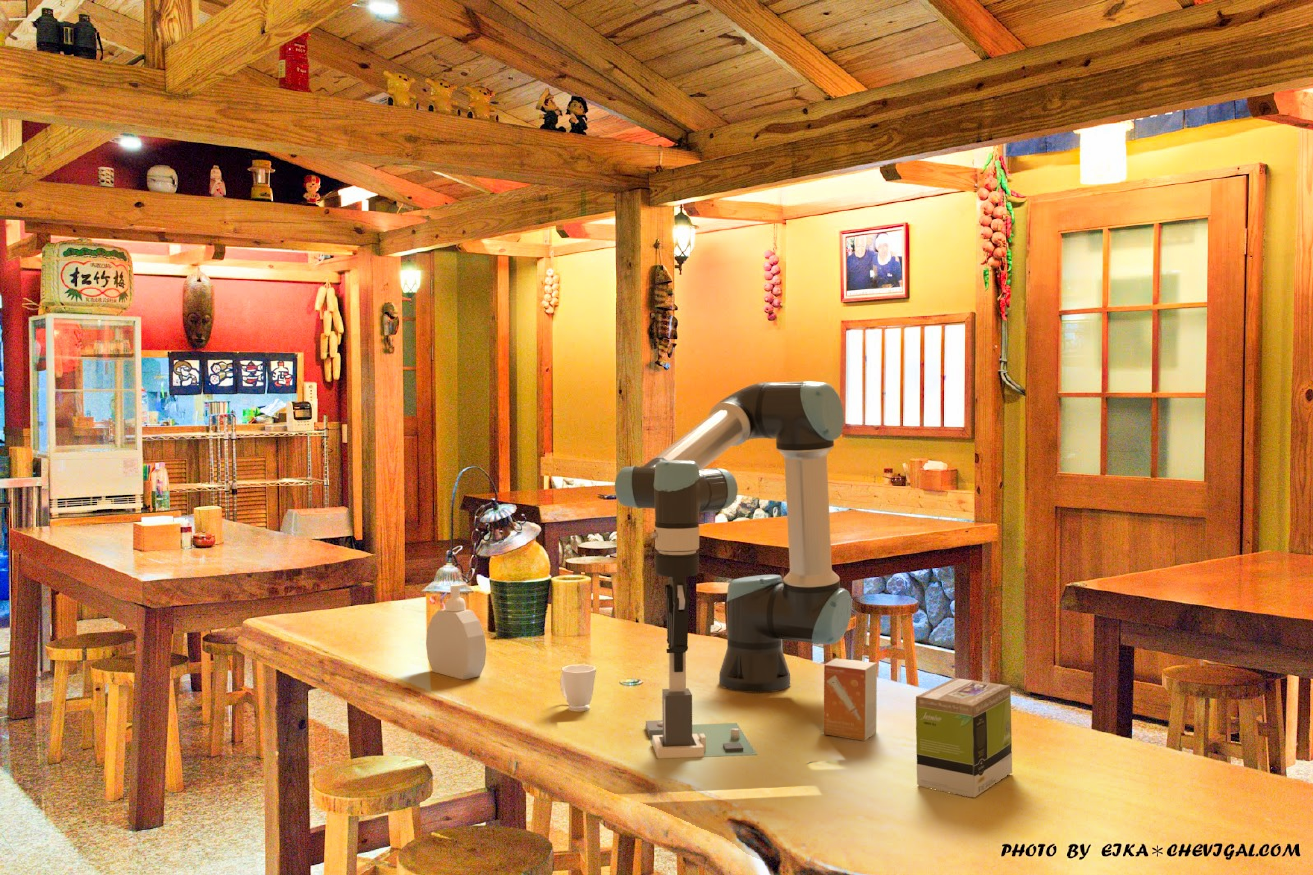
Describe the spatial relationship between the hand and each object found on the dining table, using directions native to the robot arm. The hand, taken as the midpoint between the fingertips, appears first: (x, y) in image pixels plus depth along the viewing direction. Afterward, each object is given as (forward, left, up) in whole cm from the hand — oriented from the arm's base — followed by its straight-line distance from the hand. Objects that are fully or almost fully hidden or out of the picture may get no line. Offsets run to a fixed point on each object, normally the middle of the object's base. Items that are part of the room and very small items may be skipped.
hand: (677, 689), depth 196 cm
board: (-5, -6, -12) cm, 14 cm away
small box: (-33, -10, -12) cm, 36 cm away
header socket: (0, 0, -11) cm, 11 cm away
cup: (+16, -35, -12) cm, 40 cm away
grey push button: (+1, -9, -12) cm, 15 cm away
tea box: (-44, +17, -12) cm, 49 cm away
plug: (0, 0, -10) cm, 10 cm away
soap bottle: (+41, -66, -12) cm, 78 cm away
